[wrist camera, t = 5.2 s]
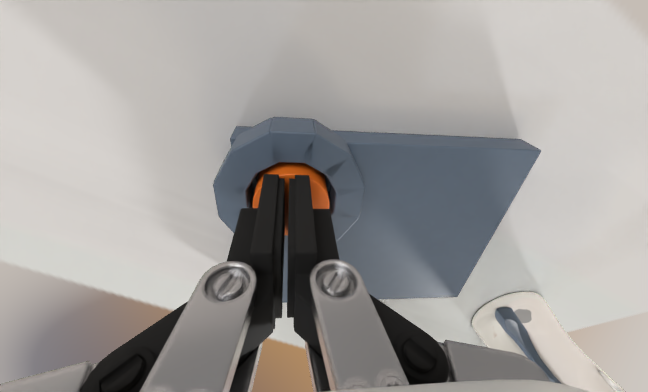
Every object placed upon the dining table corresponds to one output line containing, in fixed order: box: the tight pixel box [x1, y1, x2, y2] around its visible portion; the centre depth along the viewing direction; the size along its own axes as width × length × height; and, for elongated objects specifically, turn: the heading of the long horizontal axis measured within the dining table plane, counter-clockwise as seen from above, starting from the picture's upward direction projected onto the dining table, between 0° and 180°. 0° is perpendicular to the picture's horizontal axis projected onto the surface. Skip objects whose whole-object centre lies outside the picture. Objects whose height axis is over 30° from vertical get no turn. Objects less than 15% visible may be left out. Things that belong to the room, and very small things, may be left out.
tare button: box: [253, 162, 329, 235], centre depth 11 cm, size 3×3×2 cm
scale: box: [213, 117, 541, 302], centre depth 14 cm, size 14×12×3 cm
